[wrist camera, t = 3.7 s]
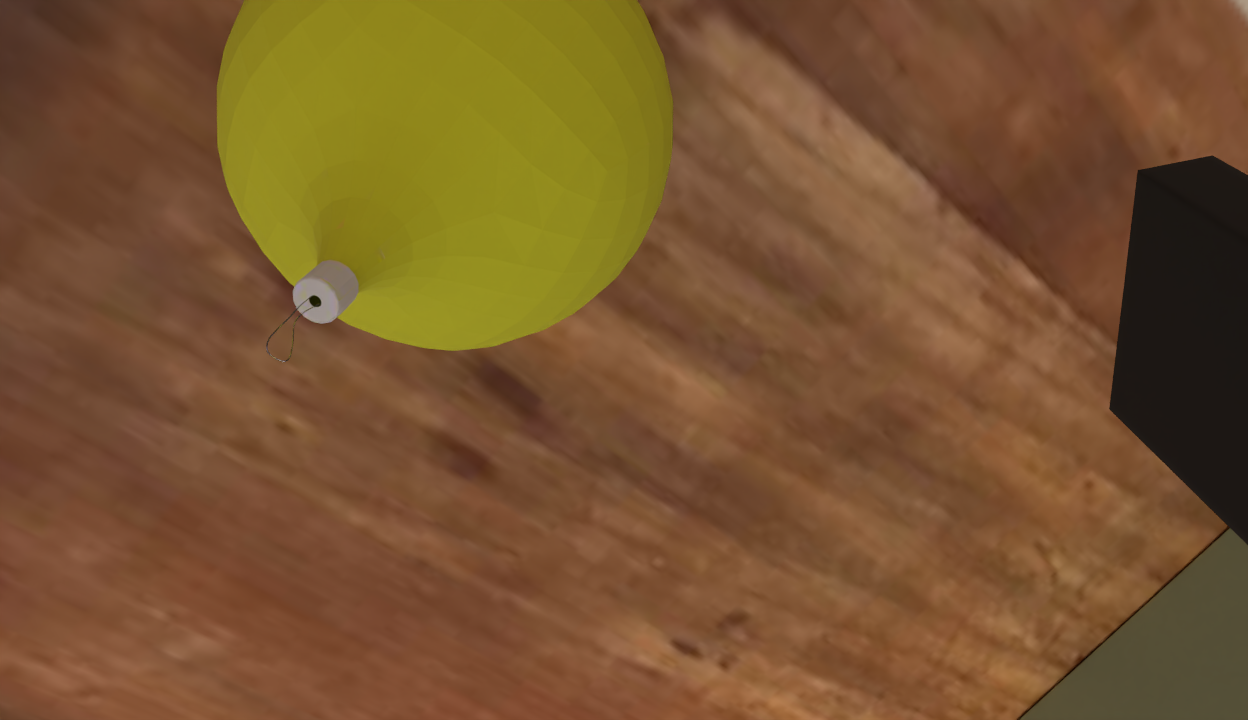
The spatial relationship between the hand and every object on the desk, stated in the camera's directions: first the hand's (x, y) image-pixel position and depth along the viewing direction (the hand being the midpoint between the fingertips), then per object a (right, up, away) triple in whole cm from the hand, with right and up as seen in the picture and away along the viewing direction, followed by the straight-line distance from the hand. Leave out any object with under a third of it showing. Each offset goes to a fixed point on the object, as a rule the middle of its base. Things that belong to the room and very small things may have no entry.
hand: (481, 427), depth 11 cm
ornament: (-2, +6, +11) cm, 13 cm away
